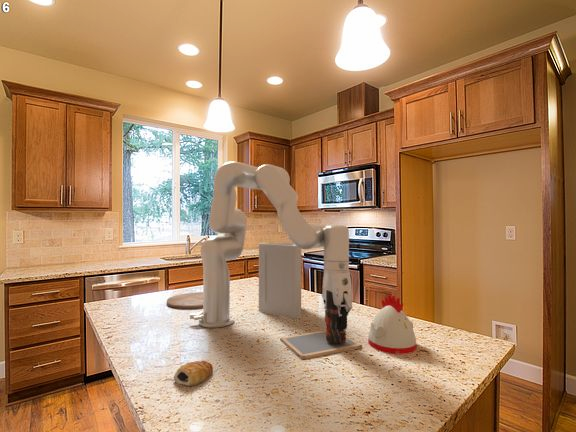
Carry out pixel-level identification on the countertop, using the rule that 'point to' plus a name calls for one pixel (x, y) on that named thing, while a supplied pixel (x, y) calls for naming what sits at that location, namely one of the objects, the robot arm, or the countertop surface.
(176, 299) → the trivet
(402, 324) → the kitchen timer
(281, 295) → the tall white carton
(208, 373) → the pastry
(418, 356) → the countertop surface
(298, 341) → the slate board
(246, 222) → the robot arm
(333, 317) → the deodorant
